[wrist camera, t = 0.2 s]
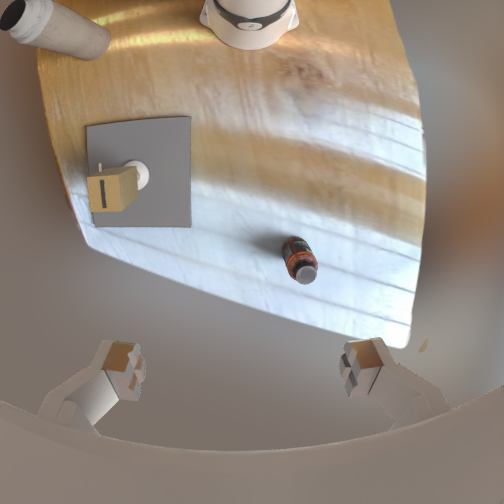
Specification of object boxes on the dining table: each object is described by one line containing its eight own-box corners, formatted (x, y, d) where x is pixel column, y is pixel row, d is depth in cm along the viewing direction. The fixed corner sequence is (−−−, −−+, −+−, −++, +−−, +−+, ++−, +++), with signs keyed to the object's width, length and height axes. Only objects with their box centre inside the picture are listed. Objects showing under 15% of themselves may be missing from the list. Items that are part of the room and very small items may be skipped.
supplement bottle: (281, 262, 62) (289, 290, 52) (281, 237, 60) (289, 262, 50) (308, 260, 63) (320, 287, 52) (308, 235, 60) (322, 259, 50)
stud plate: (90, 126, 47) (66, 129, 38) (191, 117, 48) (181, 115, 40) (97, 224, 56) (78, 242, 48) (191, 224, 58) (183, 243, 49)
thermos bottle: (88, 26, 36) (8, -9, 11) (117, 30, 38) (40, -14, 13) (73, 58, 39) (-15, 40, 14) (101, 63, 41) (13, 39, 16)
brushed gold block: (108, 167, 44) (86, 177, 36) (136, 165, 44) (117, 175, 36) (110, 198, 46) (90, 212, 39) (138, 197, 46) (120, 211, 39)
